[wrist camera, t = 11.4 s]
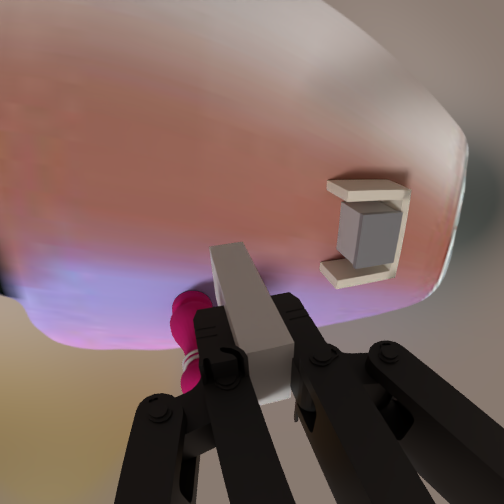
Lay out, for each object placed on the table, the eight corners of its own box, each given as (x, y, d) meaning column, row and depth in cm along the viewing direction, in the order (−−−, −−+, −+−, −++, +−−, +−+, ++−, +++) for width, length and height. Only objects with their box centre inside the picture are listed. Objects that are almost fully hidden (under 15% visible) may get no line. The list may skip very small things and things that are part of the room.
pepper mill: (219, 290, 48) (252, 390, 30) (210, 327, 50) (236, 427, 33) (172, 284, 45) (183, 389, 28) (166, 323, 48) (175, 428, 31)
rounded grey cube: (340, 200, 47) (363, 215, 41) (378, 198, 48) (402, 212, 42) (334, 250, 50) (355, 269, 45) (371, 245, 52) (393, 262, 46)
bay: (327, 180, 44) (348, 191, 39) (387, 179, 47) (411, 189, 42) (319, 270, 51) (336, 289, 46) (375, 261, 54) (394, 277, 48)
